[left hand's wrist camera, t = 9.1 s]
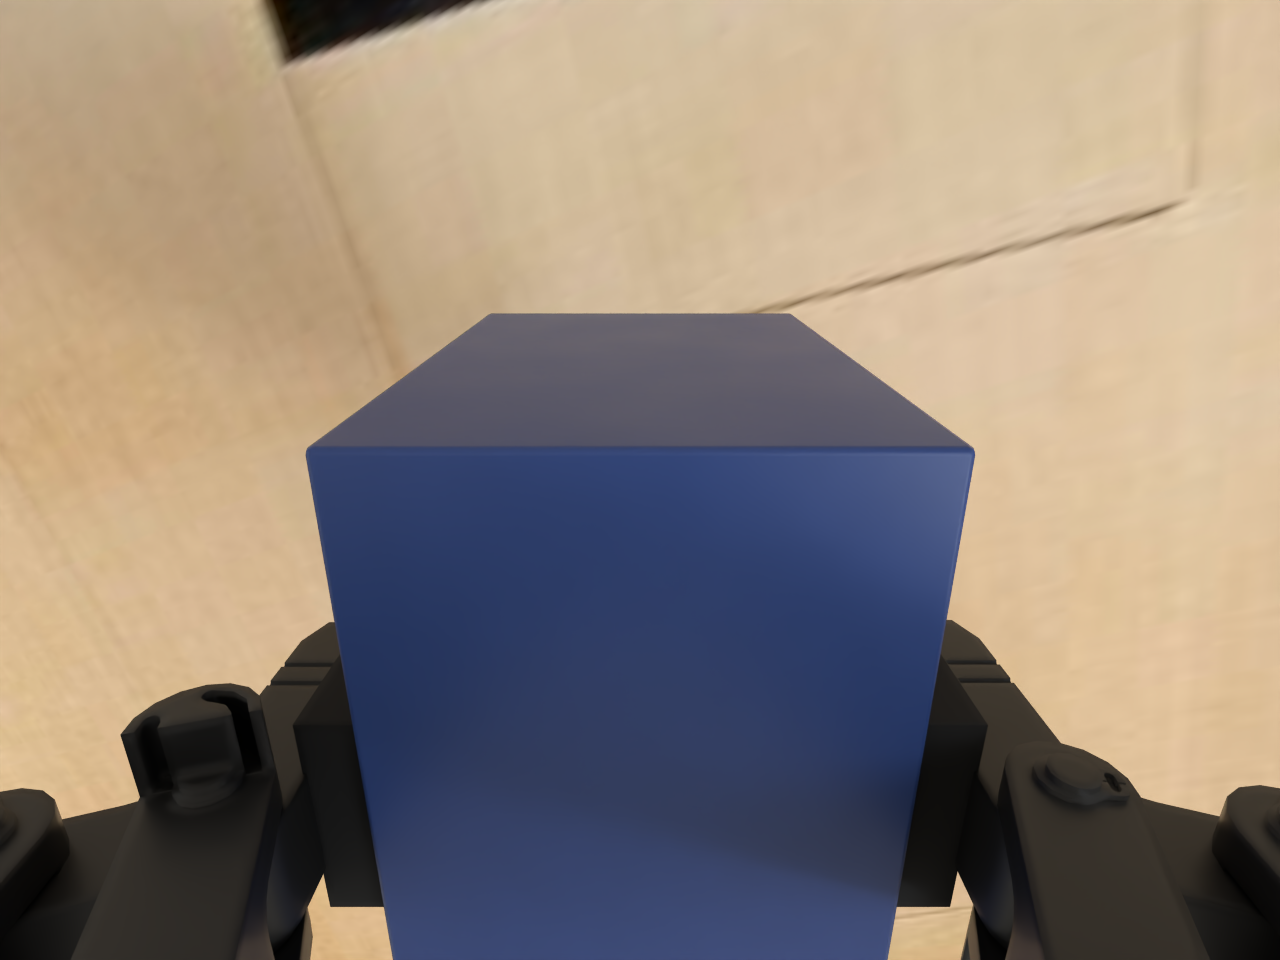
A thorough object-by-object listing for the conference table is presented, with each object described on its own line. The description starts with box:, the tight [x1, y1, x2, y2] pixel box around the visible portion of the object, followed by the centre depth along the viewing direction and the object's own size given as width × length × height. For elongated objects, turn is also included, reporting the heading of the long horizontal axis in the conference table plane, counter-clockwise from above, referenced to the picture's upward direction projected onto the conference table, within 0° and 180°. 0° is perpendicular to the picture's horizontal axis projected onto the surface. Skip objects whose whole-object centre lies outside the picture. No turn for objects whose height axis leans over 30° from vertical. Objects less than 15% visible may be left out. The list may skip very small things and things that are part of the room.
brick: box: [306, 314, 975, 960], centre depth 12 cm, size 9×6×8 cm, turn 0°
